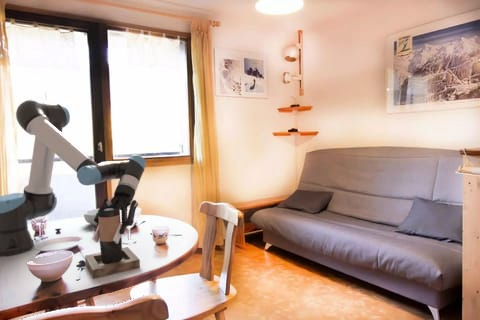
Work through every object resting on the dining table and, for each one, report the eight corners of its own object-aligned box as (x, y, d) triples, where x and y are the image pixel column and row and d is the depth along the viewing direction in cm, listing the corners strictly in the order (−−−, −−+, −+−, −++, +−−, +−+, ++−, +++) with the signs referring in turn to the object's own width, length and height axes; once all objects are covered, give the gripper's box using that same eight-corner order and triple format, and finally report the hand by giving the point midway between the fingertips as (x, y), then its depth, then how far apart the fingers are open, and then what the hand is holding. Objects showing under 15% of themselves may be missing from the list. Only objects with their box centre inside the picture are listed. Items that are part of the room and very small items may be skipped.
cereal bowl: (122, 219, 193) (121, 206, 192) (113, 228, 176) (112, 214, 176) (91, 220, 192) (90, 207, 191) (79, 229, 175) (78, 215, 175)
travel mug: (127, 259, 130) (124, 207, 128) (109, 266, 123) (105, 211, 121) (114, 255, 134) (111, 204, 132) (96, 262, 128) (93, 209, 126)
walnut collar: (93, 278, 118) (92, 270, 118) (85, 263, 131) (84, 255, 131) (139, 267, 126) (139, 259, 126) (128, 254, 140) (127, 246, 140)
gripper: (153, 194, 139) (135, 247, 125) (107, 193, 143) (85, 244, 129) (146, 183, 134) (126, 237, 119) (99, 182, 138) (74, 234, 124)
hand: (105, 241), depth 124 cm, fingers open, 8 cm apart
